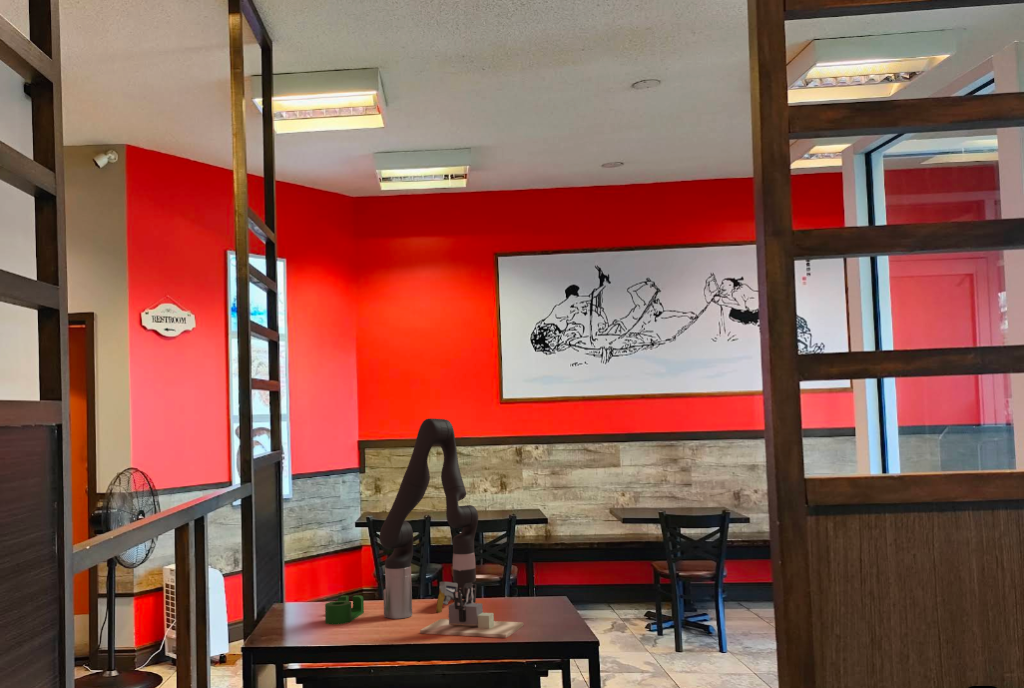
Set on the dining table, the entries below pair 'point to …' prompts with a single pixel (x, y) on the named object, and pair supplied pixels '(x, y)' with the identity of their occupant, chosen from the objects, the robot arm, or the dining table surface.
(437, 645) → the dining table surface
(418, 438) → the robot arm
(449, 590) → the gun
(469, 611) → the block
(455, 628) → the plywood board
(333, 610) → the green bracket
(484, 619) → the wood offcut
